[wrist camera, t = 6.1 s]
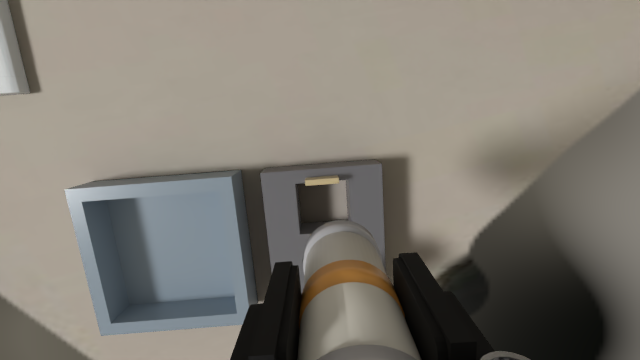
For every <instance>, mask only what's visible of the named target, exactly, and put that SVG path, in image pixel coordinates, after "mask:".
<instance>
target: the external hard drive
mask: <svg viewBox="0 0 640 360" xmlns="http://www.w3.org/2000/svg"><path fill="white" fill-rule="evenodd" d="M17 94H30V90H29V86H28V81H27V78H26V74H25V70H24V66H23V61H22V57H21V53H20V49H19V45H18V41H17V37H16V33H15V28H14V24H13V20H12V16H11V12H10V8H9V4H8V0H0V96H1V95H17Z"/></svg>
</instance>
